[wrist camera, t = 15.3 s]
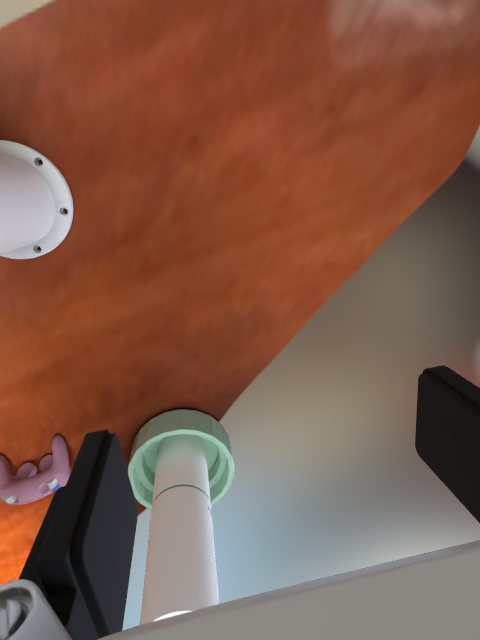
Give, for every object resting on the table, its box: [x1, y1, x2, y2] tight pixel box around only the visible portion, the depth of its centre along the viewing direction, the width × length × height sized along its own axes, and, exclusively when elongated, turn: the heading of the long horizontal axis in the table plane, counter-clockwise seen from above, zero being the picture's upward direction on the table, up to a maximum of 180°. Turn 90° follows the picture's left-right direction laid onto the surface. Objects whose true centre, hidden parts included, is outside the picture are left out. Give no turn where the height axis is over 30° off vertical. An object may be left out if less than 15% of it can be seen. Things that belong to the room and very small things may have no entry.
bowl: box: [128, 409, 234, 510], centre depth 53 cm, size 14×14×6 cm
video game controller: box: [0, 435, 71, 505], centre depth 51 cm, size 10×5×7 cm, turn 108°
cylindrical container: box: [140, 434, 219, 625], centre depth 44 cm, size 7×7×25 cm
